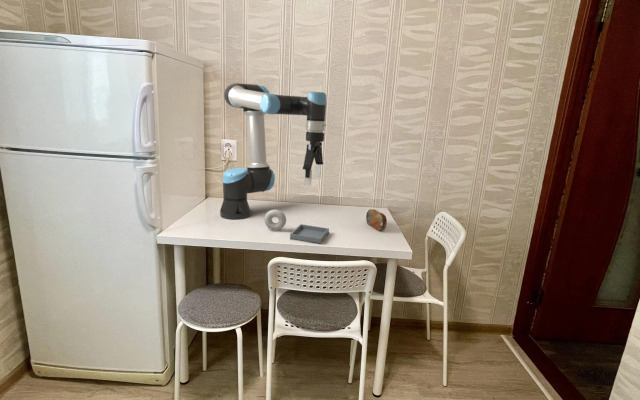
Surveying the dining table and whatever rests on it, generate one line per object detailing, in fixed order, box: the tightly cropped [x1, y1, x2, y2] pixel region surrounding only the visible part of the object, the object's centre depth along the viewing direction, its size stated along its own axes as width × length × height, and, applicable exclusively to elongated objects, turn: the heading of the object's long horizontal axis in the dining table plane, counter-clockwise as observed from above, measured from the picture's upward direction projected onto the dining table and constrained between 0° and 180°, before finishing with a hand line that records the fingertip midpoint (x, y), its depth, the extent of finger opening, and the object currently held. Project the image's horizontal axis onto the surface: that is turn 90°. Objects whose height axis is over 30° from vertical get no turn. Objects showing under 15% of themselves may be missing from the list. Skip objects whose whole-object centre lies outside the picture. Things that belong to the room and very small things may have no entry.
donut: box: [264, 209, 287, 231], centre depth 155 cm, size 10×4×10 cm, turn 86°
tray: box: [289, 223, 330, 245], centre depth 151 cm, size 14×14×2 cm
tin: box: [365, 208, 388, 232], centre depth 166 cm, size 15×3×8 cm, turn 23°
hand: (312, 182), depth 145 cm, fingers open, 13 cm apart
